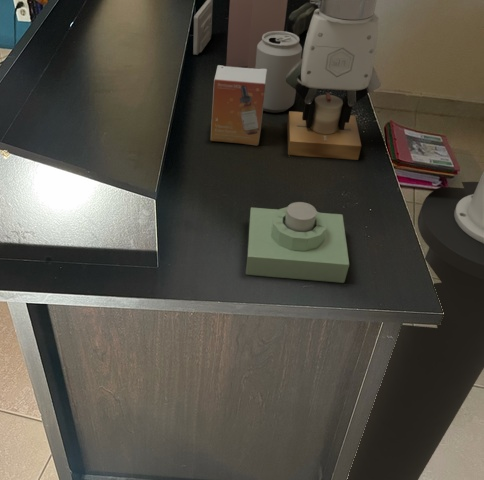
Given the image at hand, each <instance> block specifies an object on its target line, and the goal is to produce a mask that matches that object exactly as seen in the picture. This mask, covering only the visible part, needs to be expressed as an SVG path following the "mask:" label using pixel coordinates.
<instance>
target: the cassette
mask: <svg viewBox="0 0 484 480" xmlns="http://www.w3.org/2000/svg"><path fill="white" fill-rule="evenodd" d="M213 5H214V0H205V2H204V3H203V4H202V6H201V7H200V8H199V9H198V11H197V12H196V13H195V14H194V16H193V42H192V43H193V49H192V54H193V55H194V56H198V55H199V54H200V53H202V52H203V50H204V49H205V47H206V46H207V45H208V43H209V42H210V40H211V39H212V31H213V29H212V28H213Z"/></svg>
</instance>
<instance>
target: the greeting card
mask: <svg viewBox="0 0 484 480" xmlns="http://www.w3.org/2000/svg"><path fill="white" fill-rule="evenodd" d="M288 1H289V0H229V9H228V10H229V11H228V13H229V14H228V28H227V29H228V30H227V46H226V61H225V63H226V64H225V66H228V67H240V68H253V69H255V65H256V54H257V45H258V43H259V42H260V41H261V40H262V36H263V35H264V34H265V33H267V32H271V31H285V27H286V25H285V24H286V18H287V10H288V9H287V8H288Z"/></svg>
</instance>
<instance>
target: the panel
mask: <svg viewBox="0 0 484 480" xmlns="http://www.w3.org/2000/svg"><path fill="white" fill-rule="evenodd" d="M287 116H288V117H287V123H286V129H287V131H286V132H287V133H286V134H287V155H288V156H295V157H296V156H297V157H309V158H310V157H312V158H325V159H339V160H353V161H356V160H357V161H359V158H360V154H361V150H362V142H361V138H360V137H361V136H360V132H359V127H358V122H357V117H356V115H352V114H351V115H350V120H349V123H345V127H344V130H340V129H339V127H338V130H337V131H336V132H335V133H332V134H321V133H317V132H315V131H313V130H312V129H311V127H310V128H307V127H306V120H303V119H302V116H303V111H292V110H291V111H290V110H289V111H288V115H287Z"/></svg>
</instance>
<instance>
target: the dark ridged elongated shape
mask: <svg viewBox="0 0 484 480" xmlns="http://www.w3.org/2000/svg"><path fill="white" fill-rule="evenodd" d="M315 10H316V5H315V4H310V1H309V2H305V3H304V4H303V5H301V6H300V7H299V8H298V9H295V10H293V11H292V12H291V13H290V14H289V15H288V18H287V20H286V25H285V27H286V28H285V32H290V33H293V34H295V35H297V36H298V37H300V36H301V35H302V34H304V32H305V31H308V29H309V25H310V22H311V19H312V16H313V14H314V11H315Z"/></svg>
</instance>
